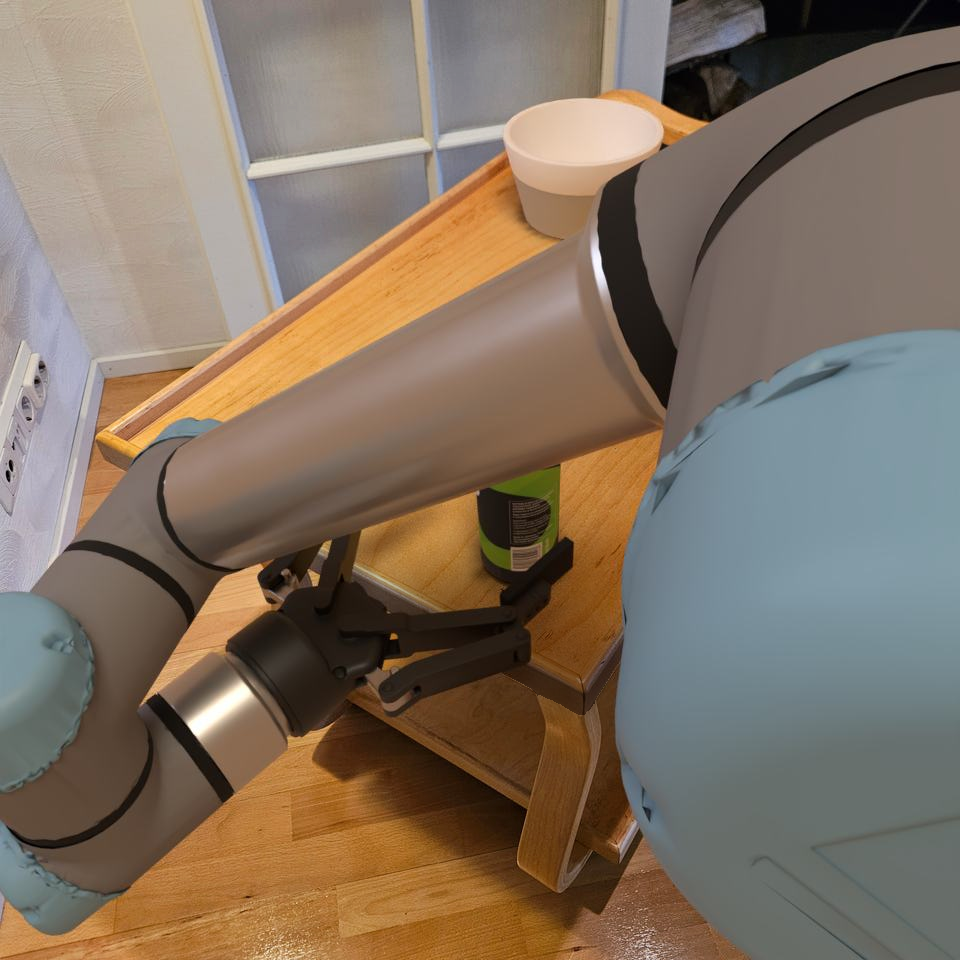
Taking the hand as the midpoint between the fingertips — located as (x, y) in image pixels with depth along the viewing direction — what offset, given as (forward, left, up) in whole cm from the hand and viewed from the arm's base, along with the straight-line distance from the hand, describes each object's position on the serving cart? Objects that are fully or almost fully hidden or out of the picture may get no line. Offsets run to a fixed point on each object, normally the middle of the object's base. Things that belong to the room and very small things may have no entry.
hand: (497, 502), depth 60 cm
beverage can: (-1, -2, -9) cm, 9 cm away
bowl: (+4, -59, -9) cm, 60 cm away
